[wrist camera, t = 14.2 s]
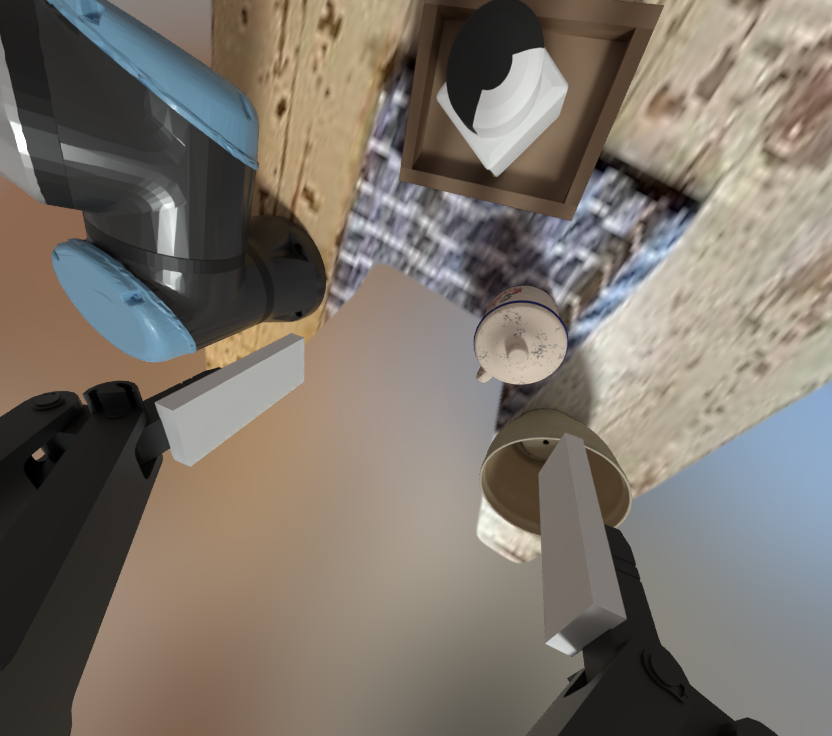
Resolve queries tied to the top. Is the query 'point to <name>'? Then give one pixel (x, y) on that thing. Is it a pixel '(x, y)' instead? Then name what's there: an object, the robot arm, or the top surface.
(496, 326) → the teacup with lid
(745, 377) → the top surface
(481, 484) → the planter bowl
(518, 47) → the medicine bottle
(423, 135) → the holder tray
